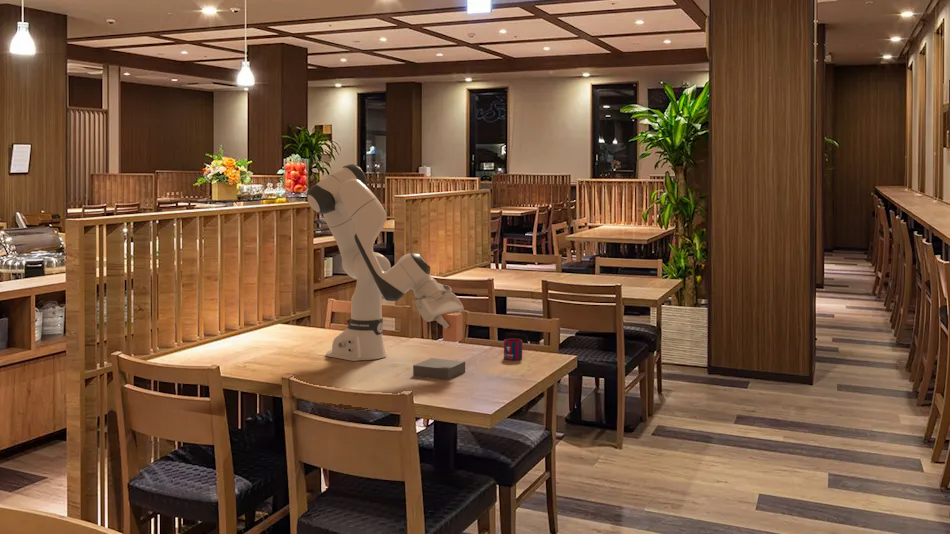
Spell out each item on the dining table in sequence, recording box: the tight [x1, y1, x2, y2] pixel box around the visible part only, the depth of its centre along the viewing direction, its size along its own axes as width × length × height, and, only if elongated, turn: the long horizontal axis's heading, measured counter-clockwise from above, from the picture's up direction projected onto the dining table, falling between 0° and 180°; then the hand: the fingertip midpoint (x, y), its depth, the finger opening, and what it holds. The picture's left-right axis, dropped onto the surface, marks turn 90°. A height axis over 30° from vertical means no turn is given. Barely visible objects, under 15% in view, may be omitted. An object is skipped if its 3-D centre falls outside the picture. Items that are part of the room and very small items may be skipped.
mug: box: [503, 338, 523, 362], centre depth 318 cm, size 7×10×7 cm
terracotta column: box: [442, 312, 464, 343], centre depth 292 cm, size 5×5×9 cm
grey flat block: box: [412, 357, 466, 381], centre depth 292 cm, size 13×13×4 cm
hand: (454, 326), depth 291 cm, fingers closed on terracotta column, 5 cm apart
